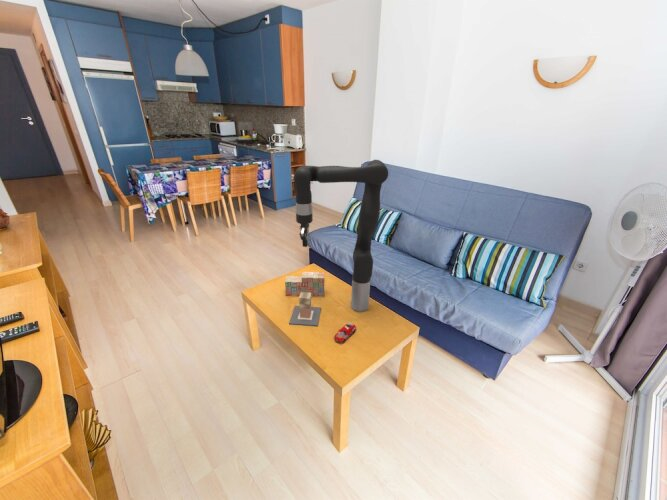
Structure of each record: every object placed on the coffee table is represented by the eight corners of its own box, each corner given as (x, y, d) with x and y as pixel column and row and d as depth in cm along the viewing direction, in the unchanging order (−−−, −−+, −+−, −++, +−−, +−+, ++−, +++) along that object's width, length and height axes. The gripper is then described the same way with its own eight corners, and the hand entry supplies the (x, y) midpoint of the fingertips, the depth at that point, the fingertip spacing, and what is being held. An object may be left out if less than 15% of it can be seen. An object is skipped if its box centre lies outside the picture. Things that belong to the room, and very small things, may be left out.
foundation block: (311, 312, 153) (311, 302, 150) (309, 318, 148) (309, 308, 145) (301, 311, 153) (301, 301, 150) (299, 317, 149) (299, 307, 146)
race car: (341, 346, 133) (341, 339, 132) (331, 340, 136) (331, 333, 135) (357, 330, 143) (358, 323, 141) (348, 325, 146) (349, 319, 144)
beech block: (311, 302, 150) (311, 292, 147) (309, 308, 145) (309, 298, 143) (301, 301, 150) (300, 292, 148) (299, 308, 146) (299, 297, 143)
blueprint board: (321, 308, 157) (321, 307, 156) (317, 326, 144) (317, 325, 144) (294, 306, 158) (294, 305, 157) (289, 324, 145) (289, 322, 145)
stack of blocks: (285, 296, 166) (284, 277, 161) (287, 289, 172) (286, 271, 167) (324, 296, 167) (324, 277, 161) (324, 290, 172) (324, 272, 167)
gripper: (310, 217, 130) (310, 252, 137) (314, 207, 141) (314, 240, 149) (293, 216, 130) (294, 251, 138) (298, 206, 142) (300, 240, 150)
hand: (305, 246), depth 143 cm, fingers closed
